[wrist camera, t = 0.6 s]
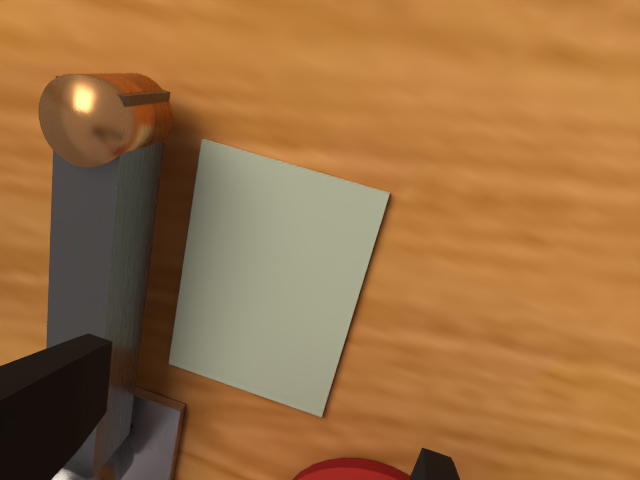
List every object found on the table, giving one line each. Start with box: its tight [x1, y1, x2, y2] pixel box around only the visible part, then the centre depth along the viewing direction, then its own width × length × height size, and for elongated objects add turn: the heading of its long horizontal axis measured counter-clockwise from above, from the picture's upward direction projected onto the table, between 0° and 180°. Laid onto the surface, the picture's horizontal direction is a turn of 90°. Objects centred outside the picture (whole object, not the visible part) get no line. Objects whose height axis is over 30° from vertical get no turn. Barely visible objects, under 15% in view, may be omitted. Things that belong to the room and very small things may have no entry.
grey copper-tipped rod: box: [39, 73, 172, 480], centre depth 18 cm, size 18×3×3 cm, turn 166°
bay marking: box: [169, 139, 390, 417], centre depth 19 cm, size 10×7×1 cm
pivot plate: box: [121, 386, 186, 480], centre depth 23 cm, size 6×6×1 cm
